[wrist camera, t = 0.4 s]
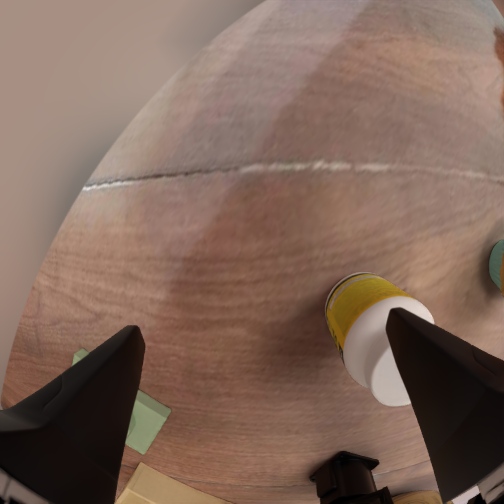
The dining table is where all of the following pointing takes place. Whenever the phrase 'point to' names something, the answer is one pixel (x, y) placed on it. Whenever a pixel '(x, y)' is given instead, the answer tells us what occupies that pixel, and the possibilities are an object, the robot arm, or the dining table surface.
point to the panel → (140, 417)
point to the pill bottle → (369, 332)
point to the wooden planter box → (161, 490)
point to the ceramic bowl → (419, 498)
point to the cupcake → (497, 265)
